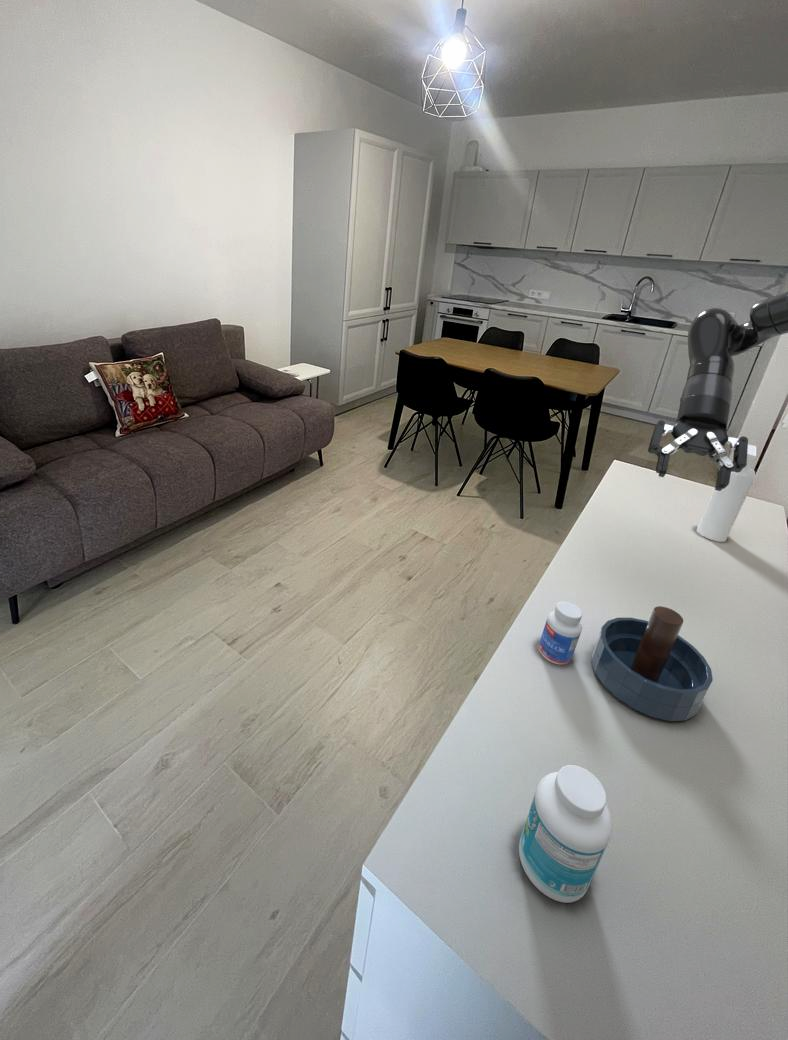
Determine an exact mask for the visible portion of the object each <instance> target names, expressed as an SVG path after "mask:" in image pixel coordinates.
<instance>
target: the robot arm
mask: <svg viewBox="0 0 788 1040" xmlns="http://www.w3.org/2000/svg"><path fill="white" fill-rule="evenodd" d="M785 334H788V291H786V292H783V293H779V294H777V295H773V296H771V297H768V298H765V299H763V300H759V301H758V302H756V303H754V304H752V306H751V308H750V310H749V321H747V322H745V323H741V324H740V323H739V322H738V321H737V320H736V319H735V317H734V316H733V315H732V314H731V313H730V312H729V311H728V310H725V309H724V308H721V307H712V308H708V309H705V310H704V311H701V312H700V313H698V314H697V315H696V316H695V317H694V319H692V321H691V323H690V326H689V328H688V333H687V347H688V348H687V349H688V350H687V351H688V359H689V366H688V372H687V376H686V382H685V384H684V387H683V390H682V393H681V397H680V399H679V407H678V411H677V412H678V413H677V417H676V422H675V424H674V425H671V424H667V423H666V421H664V420H662V419H660V420H658V421H657V423H656V425H655V426H654V429H653V432H652V435H651V438H650V442H649V445H648V448H647V452H648V453H649V454H654V455H655V456H657V462H656V466H655V473H656V474H658V477H659V478H664V477H665V476H666V475H667V471H668V467H669V461H670V457H671V455H673V454H675V453H677V452H678V451H680V450H682V451H683V452H684V453H686V454H694V455H698V456H702V457H705V456H707V457H708V458H709V460H710V461H711V462H712V463H713V464H715V466H716V467H717V468H718V471H717V475H716V480H715V486H714V490H717V491H721V490H722V489H725V488H726V487H727V486H728V484H729V481H730V475H731V472H736V473H738V472H740V471H741V470H742V469H743V468H744V467H746V465H747V450H748V444H749V438H748V437H747V436H743V435H742V436H740V437H732V436H729V435H728V433H727V429H728V423H729V416H730V410H731V405H732V398H733V382H734V375H735V369H736V366H735V365H736V364H735V361H734V359H733V358H734V357H737V356H739V355H741V354H744V353H745V352H747V351H749V350H751V349H753V348H755V347H757V346H759V345H761V344H763V343H765V342H767V341H769V340H771V339H772V338H775V337H778V336H782V335H785ZM668 433H670V434H671V436H672V438H673V439H674V440H673V441H671V442H670V443H669V444H666V445H665V446H661V445H660V443H661V441H662V437H665V436H666V435H667V434H668ZM725 445H728V446H729V448H730V450H731V451H732V452H733V455H732V456H733V457H732V460H731V459H730V457H729V456H728V453H727V451H726V448H725V447H724V446H725Z"/></svg>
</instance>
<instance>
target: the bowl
mask: <svg viewBox="0 0 788 1040" xmlns="http://www.w3.org/2000/svg"><path fill="white" fill-rule="evenodd" d="M648 622H649V620H645V619H641V618H635V617H614V618H612V619H608V620H607V621H606V622H605V623H603V625H602V626H601V627H600V631H599V634H598V637H597V639H596V642H595V644H594V648H593V651H592V655H591V665H592V668H593V672H594V674H595V675H596V677H597V678H598V679H599V681H600V682H601V684H602V685H603V687H604V688H606V689H607V690H608V691H609V692H610V693H611V694H612V695H613V696H614V697H615V698H617V699H618V700H619V701H621V702H622V703H624V704H626V706H629V707H630V708H632V709H633V710H635V711H638V712H639V713H642V714H645V715H647V716H649V717H651V718H655V719H659V720H663V721H667V722H684V721H686V720H689V719H692V718H693V717H695V716H696V715H697V713H698V711H699V709H700V708H701V705H702V703H703V702H704V700H705V698H706V696H707V693H708V691H709V689H710V687H711V685H712V683H713V680H714V679H713V672H712V668H711V666H710V665H709V663H708V662H707V660H706V658H705V656H704V655H703V654H702V653H701V652H700V651H699V650H698V649H697V648H696V647H695V646H694V645H693V644H692V643H690V642H689V641H687V640H686V639H684V638H683V637H682V636H680V635H679V634H678V636H677V638H676V641H675V643H674V645H673V648H672V650H671V652H670V655H669V657H668V659H667V662H666V664H665V666H664V669H663V671H662V673H661V676H660V678H659V680H658V683H655V682H653V681H651V680H648V679H646V678H644V677H642V676H641V675H639V674H638V673H636V672H634V671H633V670H631V669H630V668H631V665H632V662H633V660H634V657H635V655H636V652H637V650H638V647H639V645H640V642H641V640H642V637H643V635H644V632H645V630H646V627H647V624H648Z"/></svg>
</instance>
